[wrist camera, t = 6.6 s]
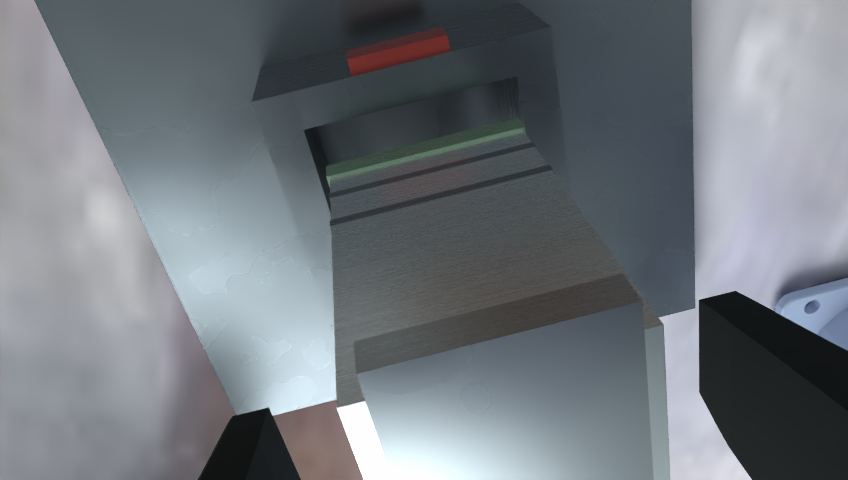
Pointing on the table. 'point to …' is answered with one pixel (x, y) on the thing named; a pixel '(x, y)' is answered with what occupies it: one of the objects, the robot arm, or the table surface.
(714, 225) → the table surface
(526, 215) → the column
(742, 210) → the table surface
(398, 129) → the base plate with holder
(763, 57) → the table surface
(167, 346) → the table surface
